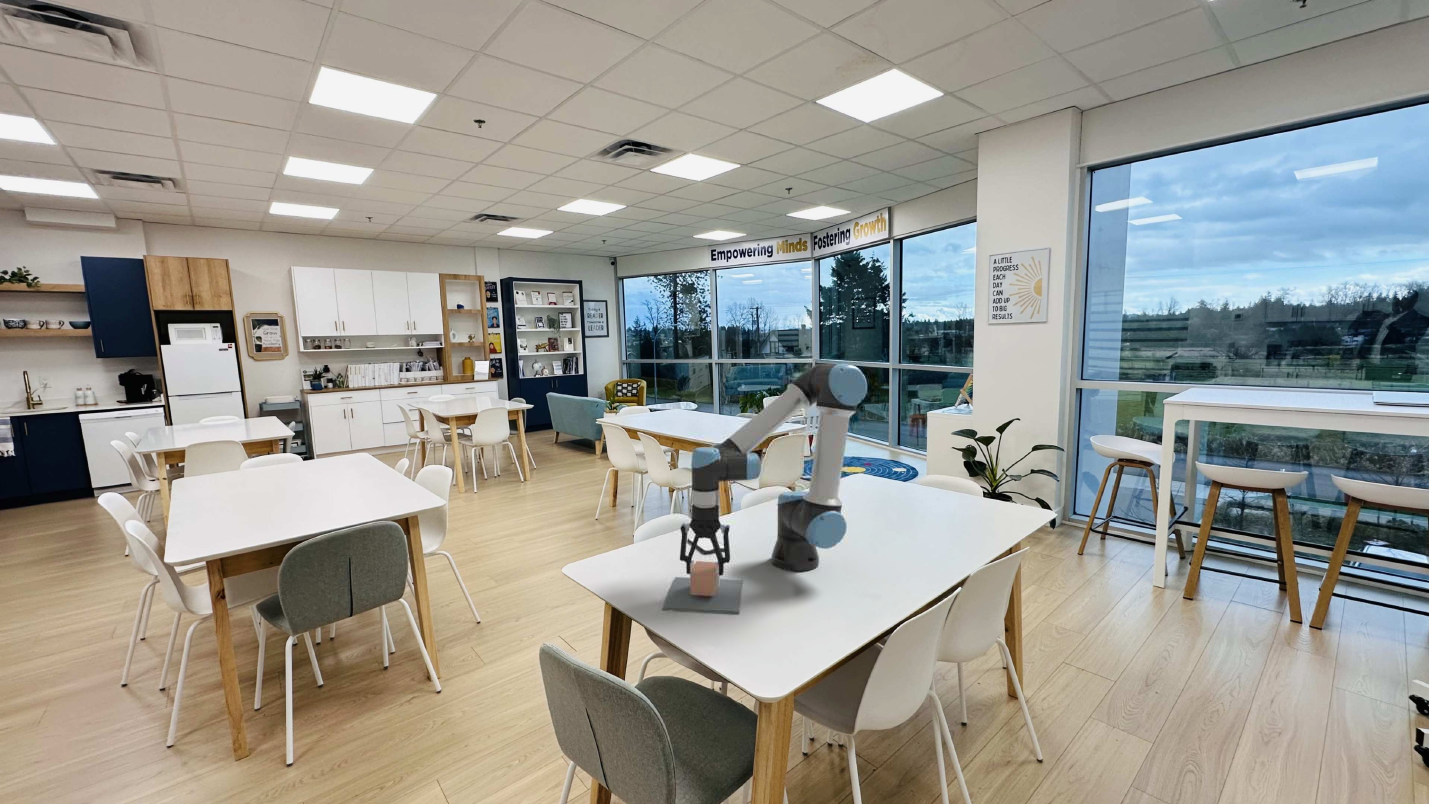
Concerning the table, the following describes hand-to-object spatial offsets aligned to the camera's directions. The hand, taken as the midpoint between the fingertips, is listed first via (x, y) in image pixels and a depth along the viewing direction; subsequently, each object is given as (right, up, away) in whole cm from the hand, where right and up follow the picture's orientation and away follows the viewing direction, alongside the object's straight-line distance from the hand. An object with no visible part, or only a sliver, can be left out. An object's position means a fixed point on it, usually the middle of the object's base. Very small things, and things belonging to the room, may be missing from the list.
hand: (705, 585), depth 154 cm
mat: (0, -3, 0) cm, 3 cm away
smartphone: (0, 0, +41) cm, 41 cm away
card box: (0, -1, 0) cm, 1 cm away
